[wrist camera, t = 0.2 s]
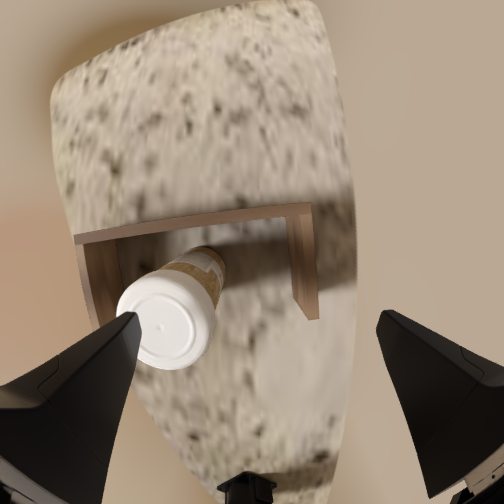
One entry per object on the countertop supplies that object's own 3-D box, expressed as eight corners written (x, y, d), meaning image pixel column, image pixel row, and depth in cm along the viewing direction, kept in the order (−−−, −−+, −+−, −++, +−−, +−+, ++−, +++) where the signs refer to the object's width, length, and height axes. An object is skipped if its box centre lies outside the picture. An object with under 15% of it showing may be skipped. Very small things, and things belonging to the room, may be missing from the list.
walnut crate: (301, 296, 25) (319, 318, 19) (122, 314, 24) (95, 337, 18) (293, 205, 24) (310, 202, 18) (107, 231, 23) (73, 235, 17)
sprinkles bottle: (219, 301, 25) (200, 384, 11) (172, 287, 24) (109, 355, 11) (232, 253, 24) (223, 294, 11) (182, 239, 24) (119, 264, 10)
